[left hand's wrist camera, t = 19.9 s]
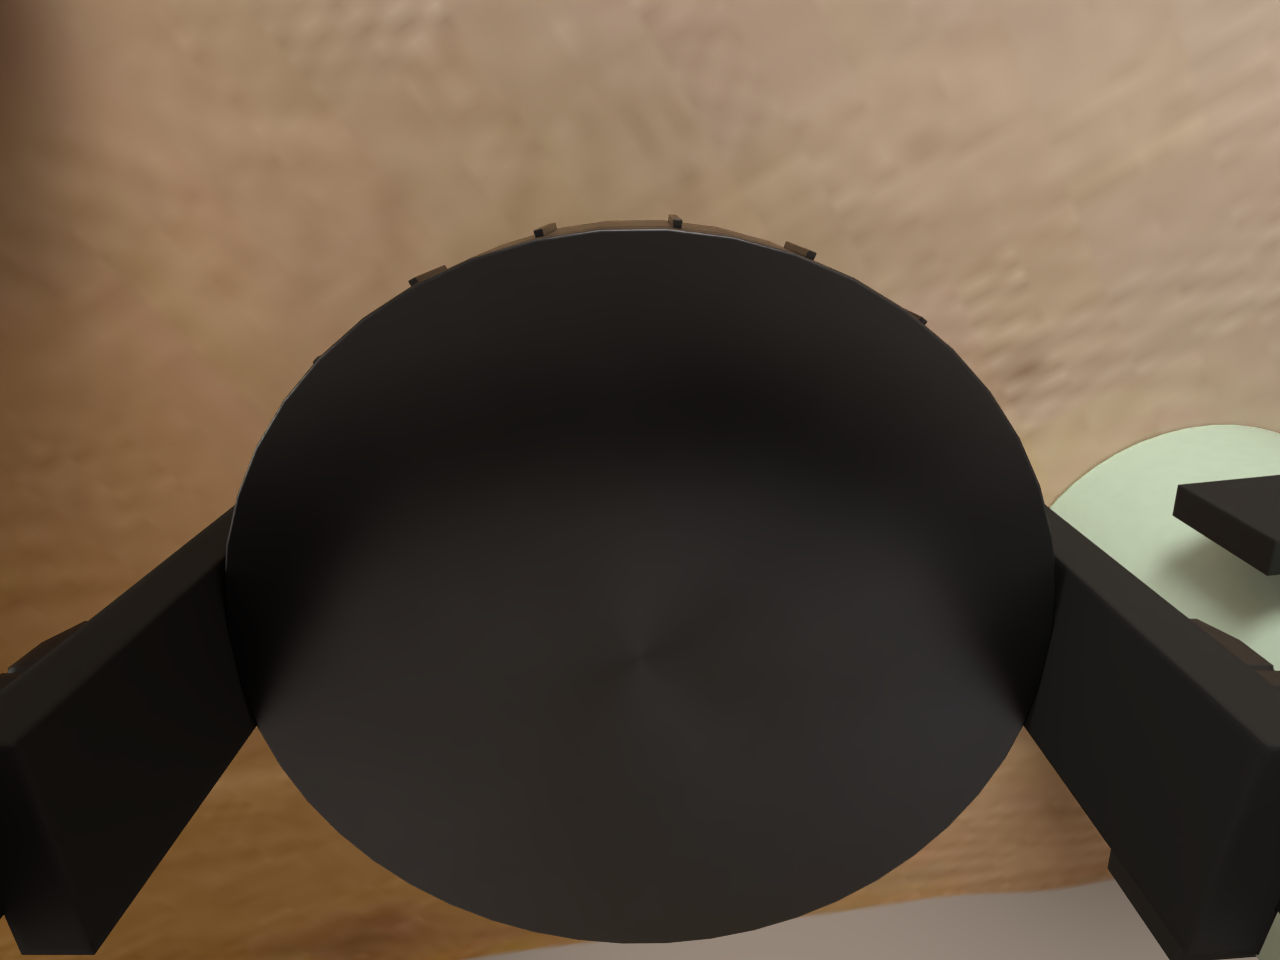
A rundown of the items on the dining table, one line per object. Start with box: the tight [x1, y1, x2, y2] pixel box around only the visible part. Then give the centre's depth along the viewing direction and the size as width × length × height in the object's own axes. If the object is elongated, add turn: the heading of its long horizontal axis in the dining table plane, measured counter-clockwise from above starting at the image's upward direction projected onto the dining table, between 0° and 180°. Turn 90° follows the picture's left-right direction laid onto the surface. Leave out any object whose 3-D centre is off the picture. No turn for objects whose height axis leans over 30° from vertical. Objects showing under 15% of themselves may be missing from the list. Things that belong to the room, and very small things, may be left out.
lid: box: [224, 215, 1056, 943], centre depth 11 cm, size 11×12×2 cm
